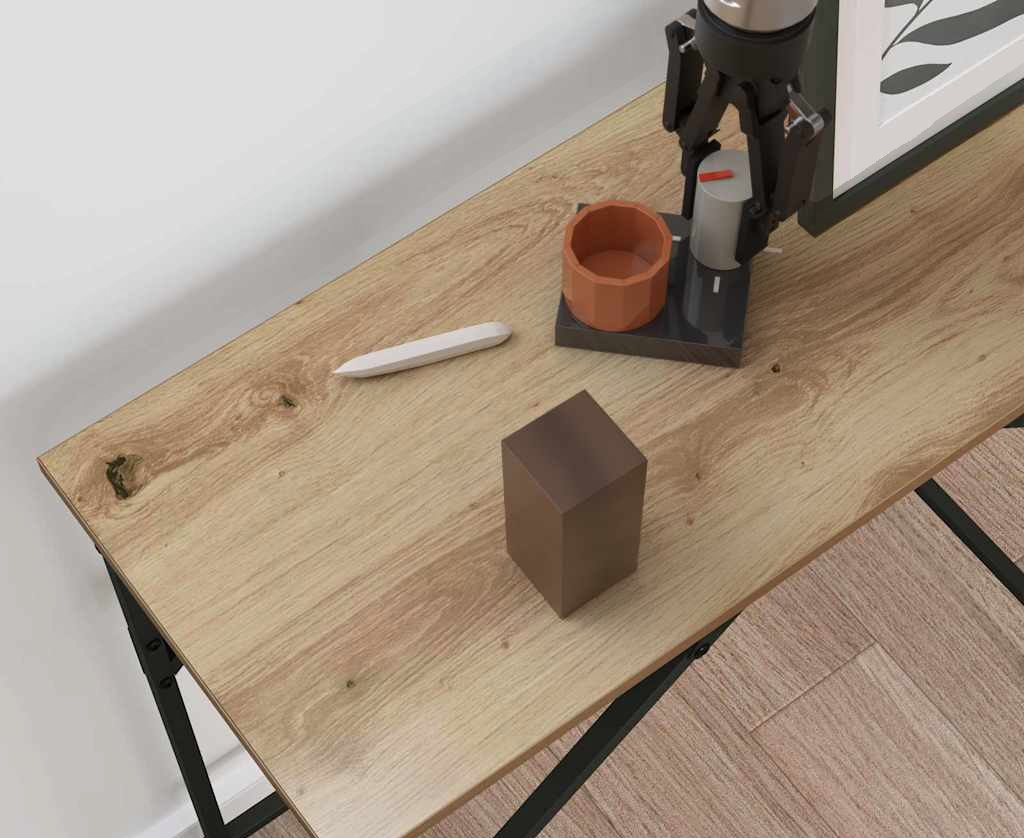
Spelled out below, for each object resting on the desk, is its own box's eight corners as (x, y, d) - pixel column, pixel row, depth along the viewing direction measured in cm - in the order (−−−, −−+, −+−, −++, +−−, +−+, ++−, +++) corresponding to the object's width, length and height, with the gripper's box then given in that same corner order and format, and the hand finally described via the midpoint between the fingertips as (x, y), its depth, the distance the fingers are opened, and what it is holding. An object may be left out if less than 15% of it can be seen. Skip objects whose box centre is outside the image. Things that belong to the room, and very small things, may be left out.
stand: (581, 503, 116) (584, 388, 103) (637, 569, 113) (648, 459, 100) (506, 551, 114) (500, 440, 101) (561, 619, 112) (562, 514, 98)
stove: (783, 226, 128) (787, 204, 126) (766, 372, 121) (771, 352, 119) (581, 202, 129) (582, 180, 127) (554, 345, 123) (554, 325, 120)
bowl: (672, 255, 124) (677, 206, 119) (659, 338, 120) (664, 290, 115) (571, 243, 124) (572, 193, 119) (556, 325, 121) (556, 277, 116)
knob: (745, 214, 125) (757, 141, 118) (761, 265, 123) (774, 193, 116) (682, 224, 125) (690, 150, 118) (697, 275, 123) (706, 203, 115)
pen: (331, 374, 122) (329, 361, 120) (508, 327, 124) (508, 314, 122) (337, 390, 121) (334, 378, 120) (515, 342, 123) (514, 330, 122)
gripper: (617, -51, 104) (606, 187, 125) (820, 105, 98) (774, 330, 118) (700, -105, 107) (677, 138, 127) (905, 43, 100) (845, 275, 120)
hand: (724, 230), depth 122 cm, fingers closed on knob, 5 cm apart
